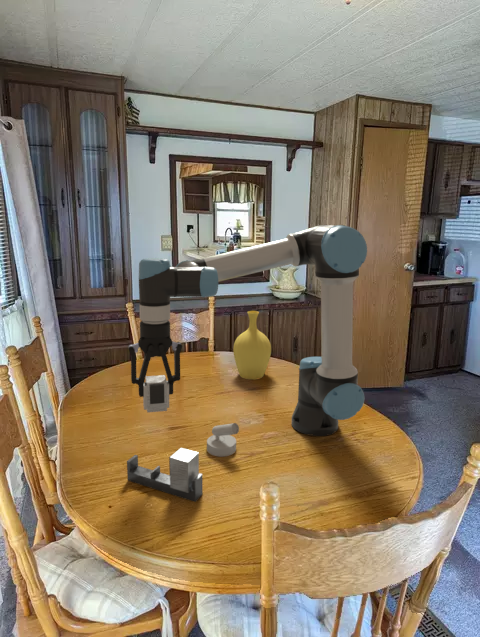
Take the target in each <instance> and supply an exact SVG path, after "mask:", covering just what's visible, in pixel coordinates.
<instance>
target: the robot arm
mask: <svg viewBox="0 0 480 637" xmlns="http://www.w3.org/2000/svg"><path fill="white" fill-rule="evenodd" d="M367 256H368V245H367V242H366V239H365V237H364V236H363V234H362V233H361V232H360V231H359V230H357V229H356V228H354V227H351V226H347V225H342V224H341V225H340V224H334V225H333V224H319V225H316V226H312V227H310V228H306V229H304V230H300V231H297V232H294V233H288V234H287V236H286V237H285V238H283V239H280V240H279V239H278V240H275V241H270V242H266V243H261V244H258V245H257V244H256V245H253V246H249V247H244V248H241V249H235V250H231V251H227V252H223V253H220V254H219V253H218V254H214V255H210V256H206V257H203V258H198V259H193V260H183V261H181V262H179V263H177V265H176V266H171V263H170V260H169V259H167V258H159V257H158V258H157V257H155V258H154V257H149V258H143V259H140V261H139V264H138V295H139V319H140V322H139V339H138V341H137V342H136V343H131V344H128V352H129V354H130V381H131V384H132V385H138V395H139V398H143V400H142V401H143V402H142V403H143V404H142V406H143V410H146V411H147V385H146V376H147V373H148V368H149V365H150V361H151V360H152V359H151V358H154V357H155V358H156V357H157V358H161V360H162V364H163V368H164V370H165V374H166V377H167V378H166V379H167V380H166V381H167V409H168V408H170V395H173V394H174V383H175V382H178V381H180V380H181V351H182V349H183V345H182V343H181V342H180V341H173V340H172V338H171V322H170V319H171V298H177V297H178V298H207V297H215V296H216V295H217V293H218V291H219V282H223V281H227V280H230V279H231V280H232V279H235V278H240V277H244V276H248V275H251V274H256V273H261V272H265V271H269V270H273V269H276V268H281V267H285V266H289V265H291V266H293V267H299V266H305V265H307V266H309V265H314V267H315V268H314V270H315V271H314V272H315V274H314V276H315V278H316V279H317V280H318V281H319V282H320V313H321V314H320V316H321V317H320V321H321V322H320V323H321V324H320V325H321V328H320V330H321V331H320V332H321V335H320V336H321V340H320V341H321V356H308V357H304V358H302V359H301V360H300V362H299V368H298V370H299V372H298V392H297V393H298V394H297V395H298V396H297V402H296V405H295V407H294V410H293V412H292V414H291V426H292V427H293V429H294V430H296V431H297V432H299V433H302V434H304V435H307V436H313V437H314V436H315V437H325V436H330V435H333V434H335V433H336V432H337V431H338V429H339V421H344V420H349V419H350V418H352V417H354V416H356V415H357V413H359V412H360V411H361V410H362V408H363V406H364V404H365V397H366V396H365V393H364V390H363V389H362V387H361V386H360V385H358V381H359V380H358V374H359V373H358V369H357V368H356V366H354V365H353V331H354V328H353V325H354V324H353V319H354V317H353V314H354V312H353V311H354V309H353V308H354V307H353V306H354V304H353V303H354V301H353V300H354V281H356V279H359V276H360V268H361V267H362V265H363V264H364V263H365V261H366V259H367ZM170 348H172V350H173V364H174V365H173V369H174V374H173V375H172V371H171V368H170V363H169V361H168V357H167V352H168V351H169V349H170ZM139 349H141V350H142V352H143V353H144V356H143V360H142V364H141V368H140V373H139V377H137V353H138V351H139Z"/></svg>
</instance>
